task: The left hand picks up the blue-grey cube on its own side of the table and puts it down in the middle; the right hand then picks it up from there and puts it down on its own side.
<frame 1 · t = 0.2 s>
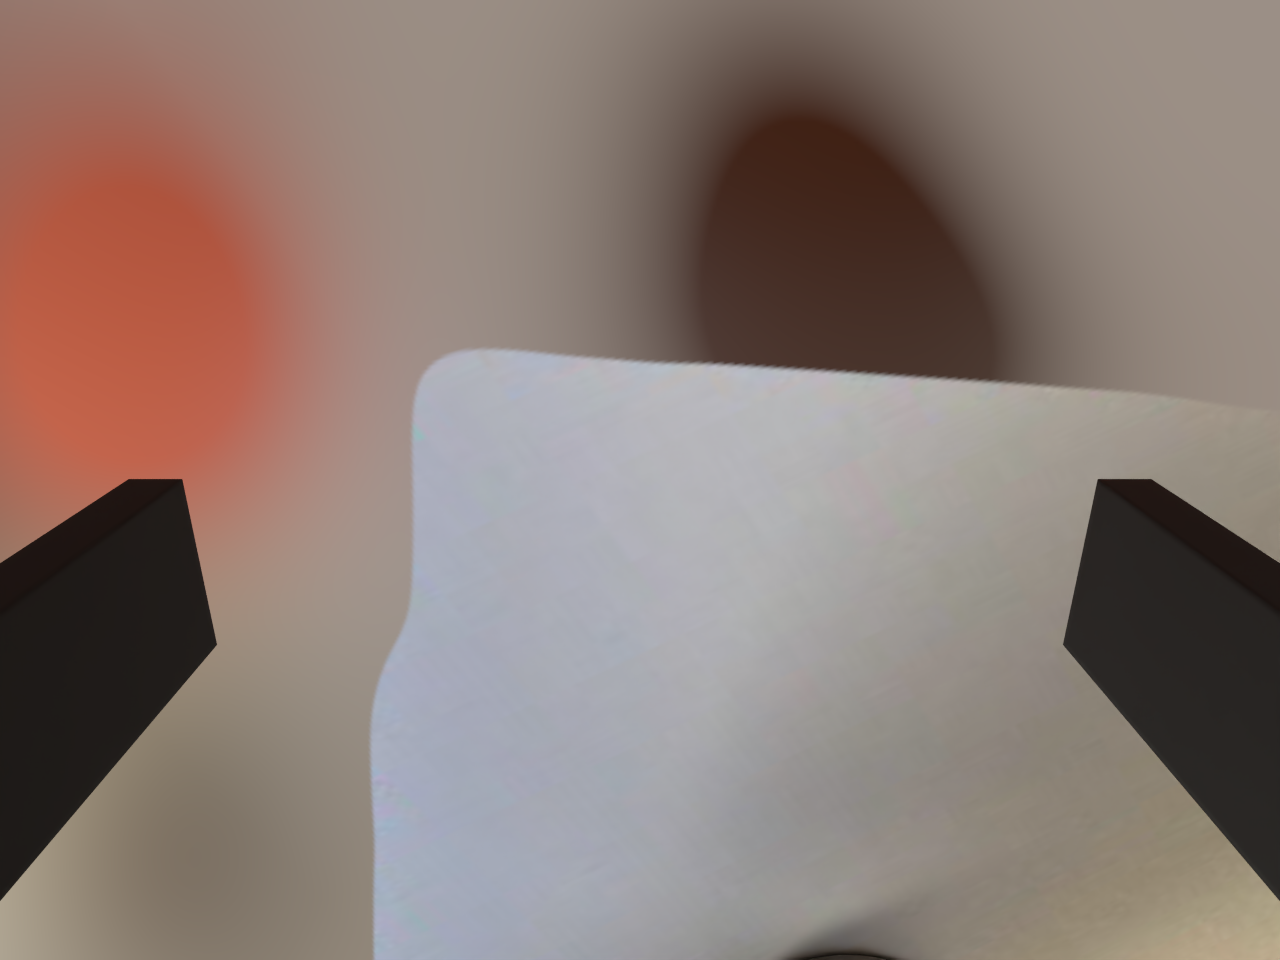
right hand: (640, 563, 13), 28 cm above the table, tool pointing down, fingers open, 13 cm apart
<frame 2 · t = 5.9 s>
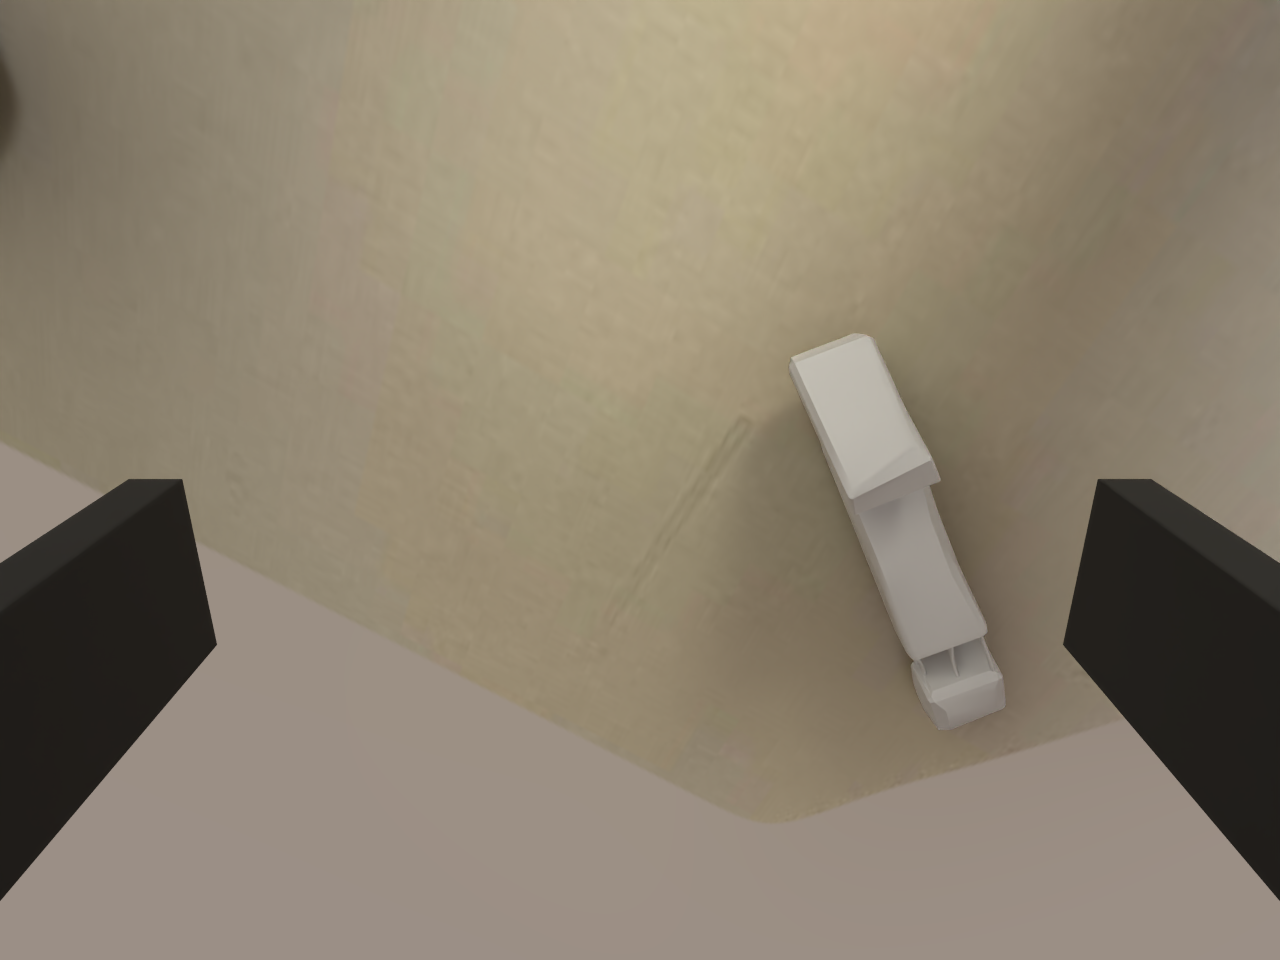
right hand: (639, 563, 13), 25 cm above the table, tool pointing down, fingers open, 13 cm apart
clamp: (891, 528, 40), on the table
when the left hand's fingers open (3 cm above the table, at t = 16.1 s): blue-grey cube drops 2 cm, on the table.
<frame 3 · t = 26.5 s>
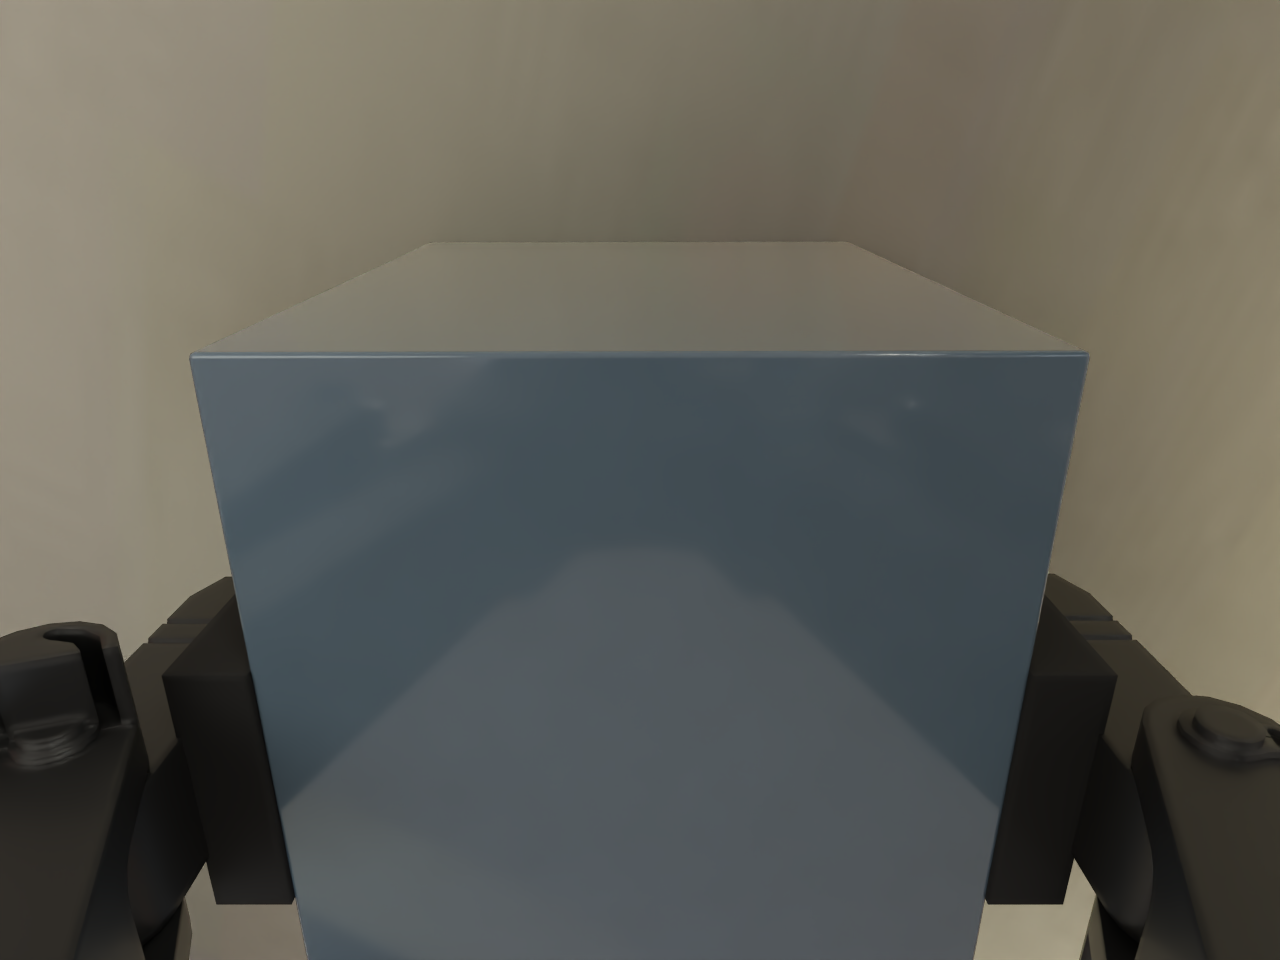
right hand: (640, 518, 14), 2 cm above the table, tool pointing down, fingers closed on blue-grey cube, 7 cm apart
blue-grey cube: (639, 475, 16), on the table, touching right hand
when the right hand's fingers open (3 cm above the table, at t = 37.5 s): blue-grey cube drops 2 cm, on the table.
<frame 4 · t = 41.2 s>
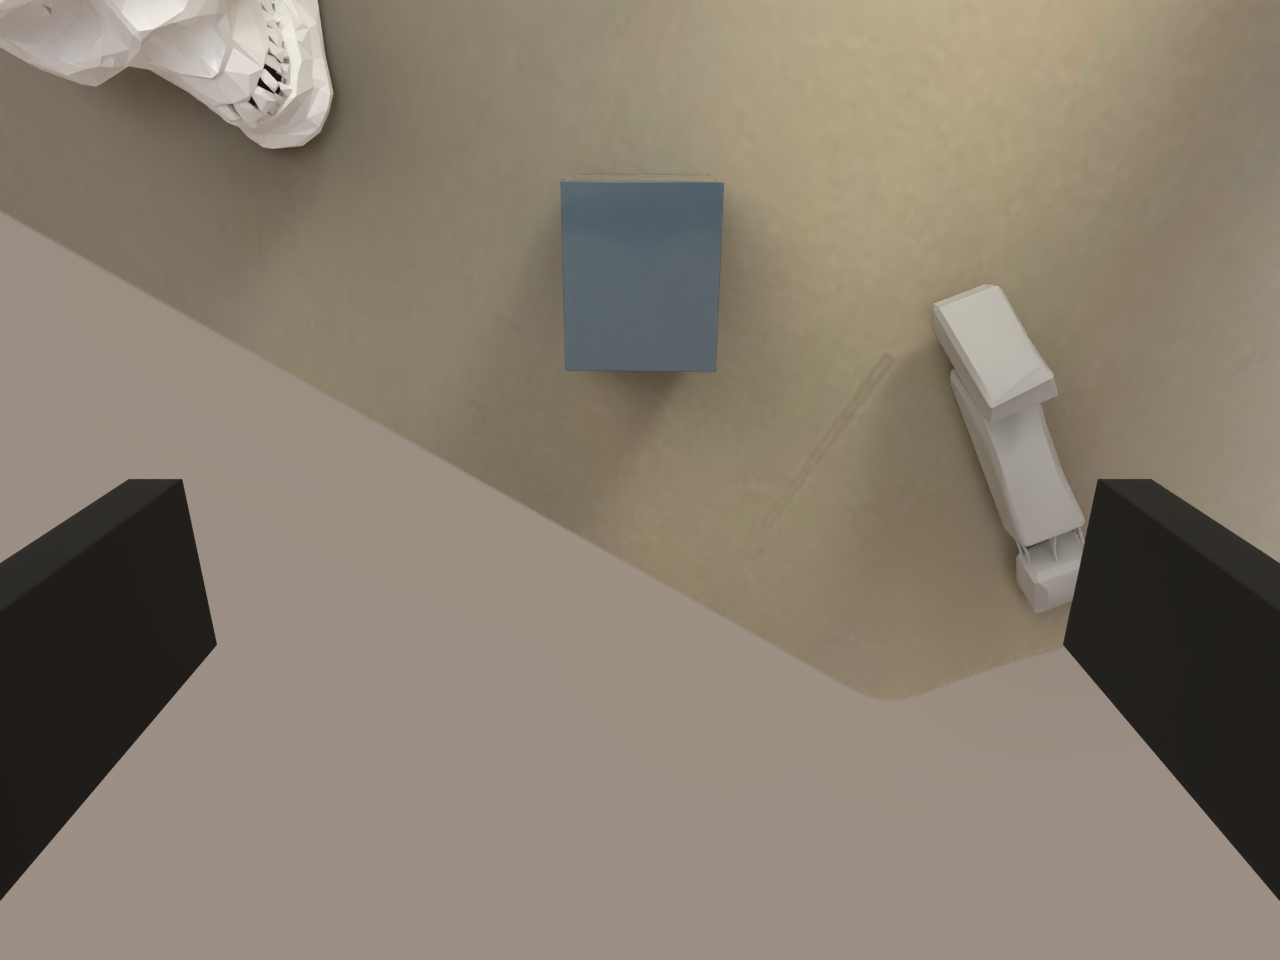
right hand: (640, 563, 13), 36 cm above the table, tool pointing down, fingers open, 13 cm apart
clamp: (1000, 446, 50), on the table
blue-grey cube: (641, 257, 46), on the table
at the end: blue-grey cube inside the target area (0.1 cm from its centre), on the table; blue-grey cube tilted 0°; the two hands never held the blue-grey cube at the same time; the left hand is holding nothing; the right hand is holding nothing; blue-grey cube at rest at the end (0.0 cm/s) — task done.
